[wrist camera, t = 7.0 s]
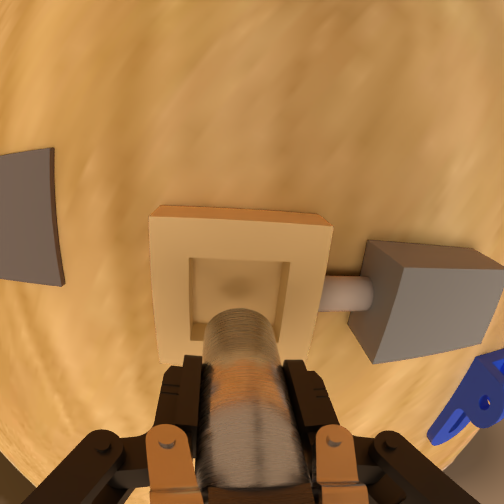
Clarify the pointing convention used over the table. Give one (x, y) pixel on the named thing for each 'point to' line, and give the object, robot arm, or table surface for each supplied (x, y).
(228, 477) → the square capped bottle
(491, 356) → the bracket
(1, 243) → the mat
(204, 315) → the tray with grey block
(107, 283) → the table surface
